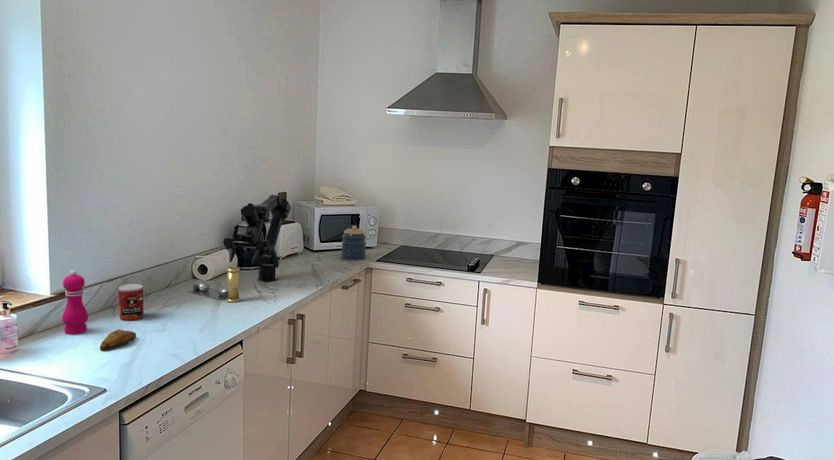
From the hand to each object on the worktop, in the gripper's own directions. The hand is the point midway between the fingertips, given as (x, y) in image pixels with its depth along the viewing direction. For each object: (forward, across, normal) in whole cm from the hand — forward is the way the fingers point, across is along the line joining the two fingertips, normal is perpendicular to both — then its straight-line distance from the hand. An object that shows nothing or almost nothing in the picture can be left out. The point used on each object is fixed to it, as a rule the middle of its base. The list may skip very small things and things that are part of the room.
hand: (241, 262), depth 242 cm
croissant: (+54, -12, -33) cm, 64 cm away
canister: (-53, +24, +72) cm, 93 cm away
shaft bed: (+10, -11, +9) cm, 18 cm away
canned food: (+36, -23, -16) cm, 46 cm away
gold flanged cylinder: (+15, 0, +4) cm, 16 cm away
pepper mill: (+48, -31, -28) cm, 64 cm away
